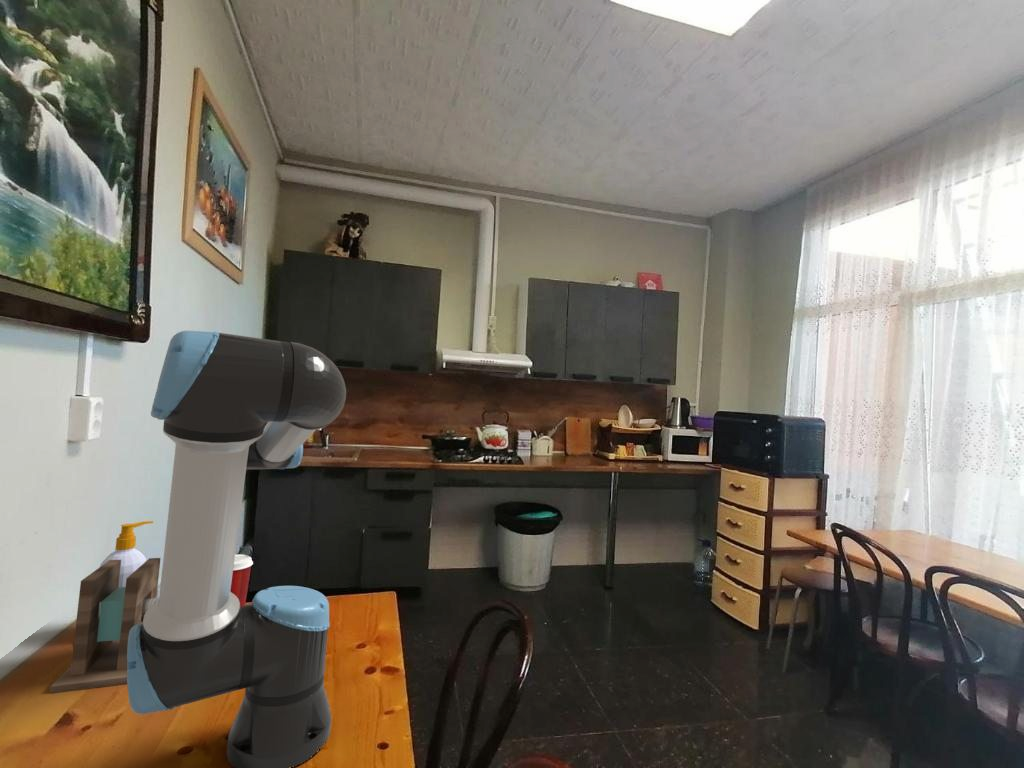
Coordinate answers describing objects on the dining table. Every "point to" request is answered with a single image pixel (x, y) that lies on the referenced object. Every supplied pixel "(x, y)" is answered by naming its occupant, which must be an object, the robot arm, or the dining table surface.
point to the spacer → (111, 616)
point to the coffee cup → (241, 577)
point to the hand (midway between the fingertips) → (183, 591)
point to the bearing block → (90, 657)
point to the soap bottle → (127, 552)
